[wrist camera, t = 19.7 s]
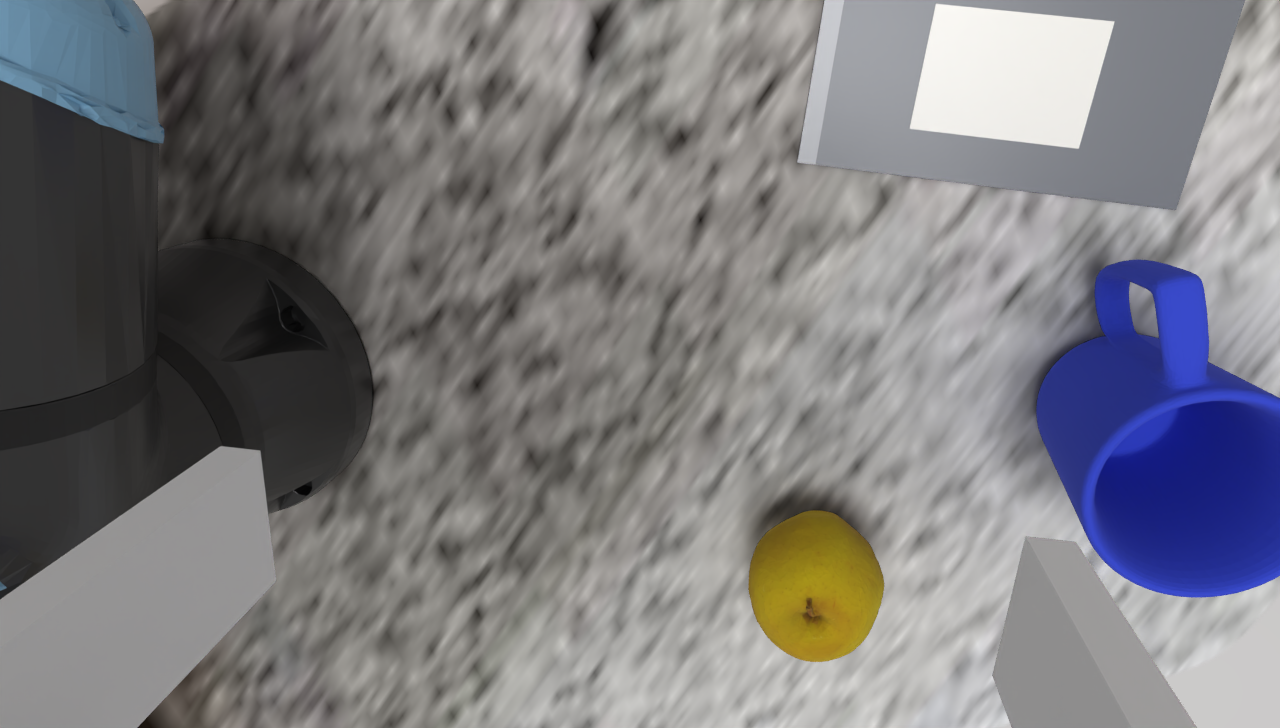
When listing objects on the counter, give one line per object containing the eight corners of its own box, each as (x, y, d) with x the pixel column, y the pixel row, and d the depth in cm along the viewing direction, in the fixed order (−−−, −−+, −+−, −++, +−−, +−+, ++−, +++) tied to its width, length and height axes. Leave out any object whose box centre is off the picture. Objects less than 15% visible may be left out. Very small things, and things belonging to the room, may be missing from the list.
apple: (802, 461, 42) (804, 545, 35) (901, 534, 42) (924, 632, 35) (726, 544, 44) (713, 639, 37) (821, 612, 45) (826, 719, 37)
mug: (1194, 207, 35) (1338, 255, 26) (1213, 461, 38) (1347, 584, 29) (990, 251, 37) (1056, 310, 28) (1025, 488, 41) (1095, 612, 31)
